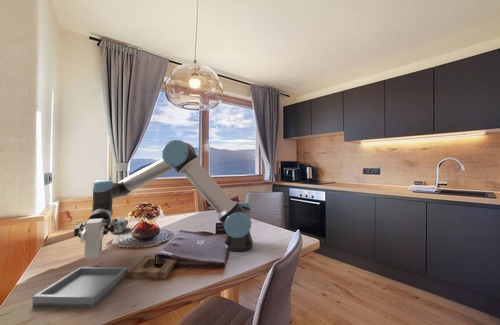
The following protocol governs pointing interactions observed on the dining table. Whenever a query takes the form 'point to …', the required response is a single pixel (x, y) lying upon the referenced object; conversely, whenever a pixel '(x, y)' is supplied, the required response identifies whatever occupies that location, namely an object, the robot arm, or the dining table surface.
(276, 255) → the dining table surface
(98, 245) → the skincare box
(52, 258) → the dining table surface
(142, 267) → the socket block
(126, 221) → the grey-green mottled ovoid
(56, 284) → the parts tray
